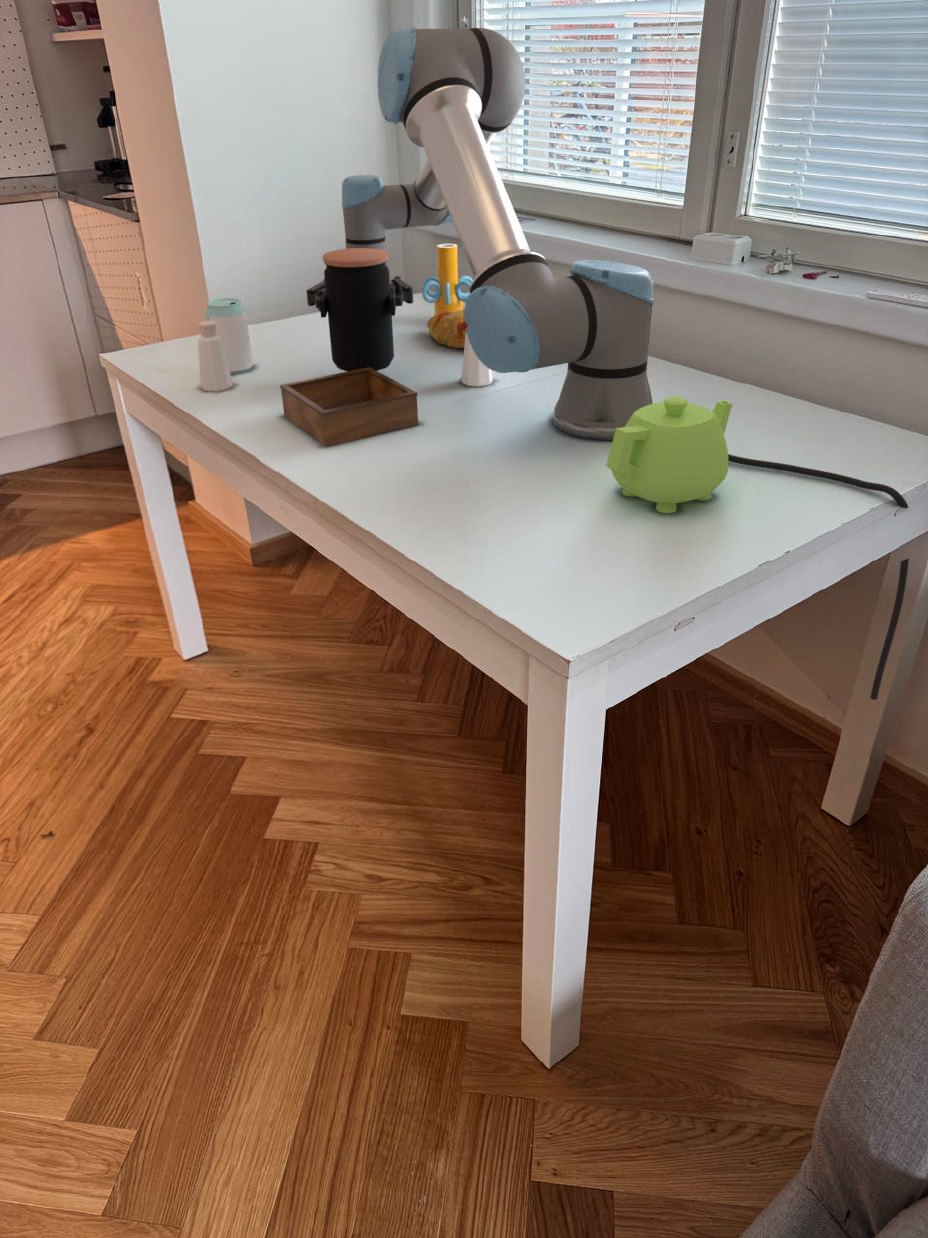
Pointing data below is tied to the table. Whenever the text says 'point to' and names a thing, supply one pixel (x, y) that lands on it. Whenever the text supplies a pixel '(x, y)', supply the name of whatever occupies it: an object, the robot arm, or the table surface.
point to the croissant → (449, 328)
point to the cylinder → (447, 282)
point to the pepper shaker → (474, 368)
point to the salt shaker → (212, 359)
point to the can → (232, 332)
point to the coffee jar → (359, 308)
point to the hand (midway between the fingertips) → (357, 307)
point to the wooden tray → (342, 424)
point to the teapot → (671, 452)
